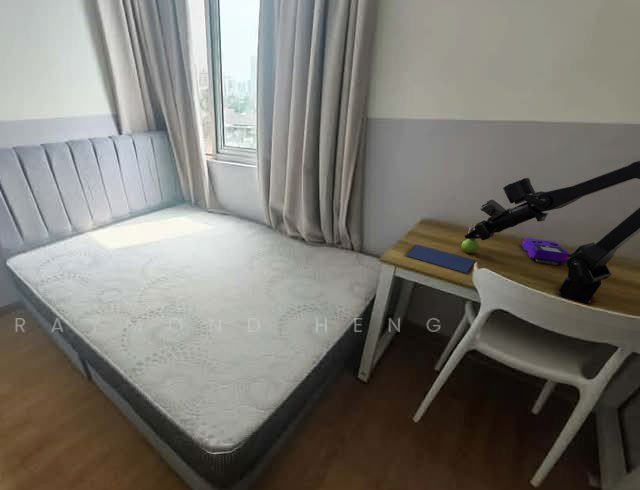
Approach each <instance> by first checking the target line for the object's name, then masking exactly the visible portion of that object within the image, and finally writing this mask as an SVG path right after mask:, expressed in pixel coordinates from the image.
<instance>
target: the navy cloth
mask: <svg viewBox="0 0 640 490" xmlns="http://www.w3.org/2000/svg"><path fill="white" fill-rule="evenodd" d="M406 257H407V258H410V259H415V260H418V261H420V262H421V261H422V262H425V263H428V264H431V265H435V266H439V267H442V268H446V269H449V270H453V271H456V272H459V273H462V274H465V275H466V274H468V272H469V271H470V270H471V268H472V266H473V265H474V263H475V262H476V260H475V259H472V258H467V257H463V256H460V255H455V254H452V253H449V252H446V251H440V250H437V249H434V248H429V247H426V246H423V245H416V246H415V247H413V249H412V250H411V251H409V253H407V254H406Z"/></svg>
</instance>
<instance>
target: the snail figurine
mask: <svg viewBox="0 0 640 490" xmlns="http://www.w3.org/2000/svg"><path fill="white" fill-rule="evenodd" d="M474 225H475V224H473V223H470V227H469V228H468V232H467V234H468V233H470V232H471V231H473V230H474V229H475V228H474ZM460 247H461V250H462V251H463V252H465V253H467V254H473V253H475V252H476V251H477V250H478V249H479V248H480V244H479V241H478V240H477V239H465V240H463V242H462V243H461V246H460Z"/></svg>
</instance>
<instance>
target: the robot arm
mask: <svg viewBox="0 0 640 490" xmlns="http://www.w3.org/2000/svg"><path fill="white" fill-rule="evenodd" d="M633 180H640V160H637V161H633V162H631V163H629V164H628V165H625V166H623V167H620V168H618V169H615V170H612V171H608V172H606V173H604V174H601V175H598V176H595V177H593V178H590V179H588V180H585V181H582V182H580V183H577V184H573V185H571V186H565V187H562V188H558V189H553V190H549V191H543V190H542V191H535V189H534V187H533V185H532V183H531V179H530V178H529V177H524V178H522V179H519V180H517V181H515V182H512V183H508V184H507V185H505V186H503V187H502V189H503V192H504V194H505V196H506V198H507V200H508V202H509V204H511V205H512V204H514V205H516V206H514V207H511V208H510V207H509V208H505V207H504V206H502V205H501V204H500V203H498V201H496V200H494V199H490V200H487V201H486V202H485V203H484V204H482V205H481V207H479V209H480V211H481V212H484V213H485V214H486V215H488V216H489V217H488V218H487V220H485V219H484V220H481V221H479V222H477V223H475V224H473V225H474V226H473V229H474V228H475V229H474V230H473V231H471V232H470V233H468V232H467V234H465V235H464V239H465V240H467V239H475V240H477V239H480V240H481V241H486V240H488V239H490V238H492V237H494V235H495V233H501V232H503V231H505V230H507V229H510V228H513V227H516V226H517V225H521V224H522V223H525V222H527V221H531V220H533V219H536V221H537V222H539V223H540V222H545V221H546V219H547V216H548V215H549V212H548V211H554V210H558V209H562V208H564V207H566V206H569V205H571V204H573V203H575V202H576V201H578V200H580V199H582V198H584V197H585V196H589V195H593V194H595V193H598V192H601V191H604V190H607V189H610V188H613V187H616V186H618V185H622V184H625V183H628V182H630V181H633ZM638 234H640V207H638V208H637V209H636V210H635V211H633V212H632V213H631V214H630V215H629V216H627V217H626V218H625V219H624V220H622V221H621V222H620V223H619V224H618V225H617V226H615V227H614V228H613V229H611V230H610V231H609V232H608V233H606V234H605V235H604V236H603V237H602V238H601V239H599V240H598V241H597V242H596V243H595V242H589V243H584V244H582V245H579V246H578V247H577V249H576V250H575V251H574V252H572V253H570V254H571V255H568V257H569V258H568V260H567V262H566V263H565V264H566V268H567V269H568V271H567V276H566V277H564V280H563V281H562V283H561V285H560V286H559V289H558V292H559V297H562V298H566V299H569V300H572V301H577V302H579V303H583V304H587V305H590V303H591V300H592V298H593V296H594V295H595V294H596V292H597V291H598V290H599V289H600V287H601V285H602V281H604V280H606V279H608V278H609V277H611V276H612V273H611V270H610V268H609V267H608V265H607V264H608V263H609V262H610V261H611V260H612V259H613V257H614V256H615V254H616V252H617V251H618V249H620V248H621V247H623V246H624V245H625V244H626V243H627V242H629V241H631V240H632V239H633V238H634V237H636V236H637V235H638Z"/></svg>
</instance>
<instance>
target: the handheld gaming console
mask: <svg viewBox="0 0 640 490" xmlns="http://www.w3.org/2000/svg"><path fill="white" fill-rule="evenodd" d="M522 248H523V250H524V251H527V252H526V253H527V255H528V257H529V258H530V259H535V262H536V263H540V264H547V265H553V266H558V265H559V263H561V264H562V263H565V264H567V263H566V262H567V260H568V259H569V258H570V257H568V255H571V254H572V253H570V252H569V251H568V250H567V249H566V248H564V247H563V246H561V245H560V244H558V243H557V242H556V241H552V240H545V239H537V238H527V237H525V238H524V240H523V242H522Z"/></svg>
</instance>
